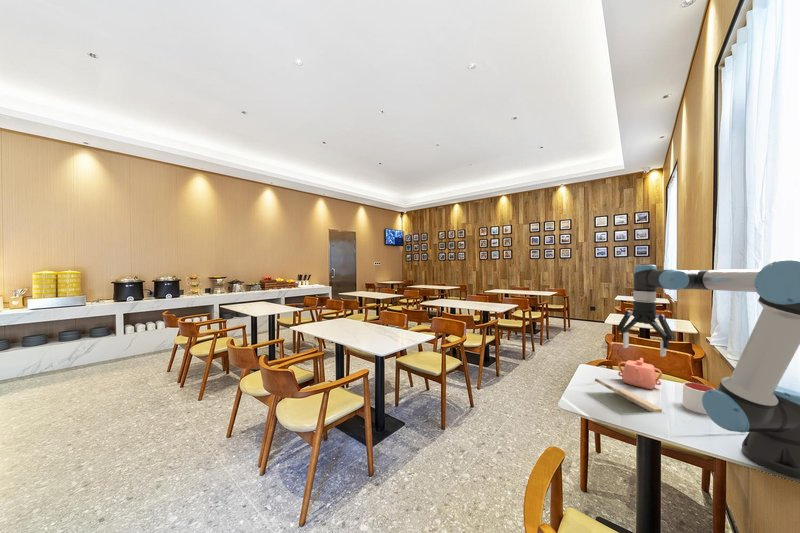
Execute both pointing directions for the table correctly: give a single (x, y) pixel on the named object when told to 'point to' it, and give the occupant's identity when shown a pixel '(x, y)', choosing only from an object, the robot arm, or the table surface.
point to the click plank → (624, 395)
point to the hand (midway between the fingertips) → (643, 351)
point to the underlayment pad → (624, 403)
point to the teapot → (639, 374)
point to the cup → (694, 396)
